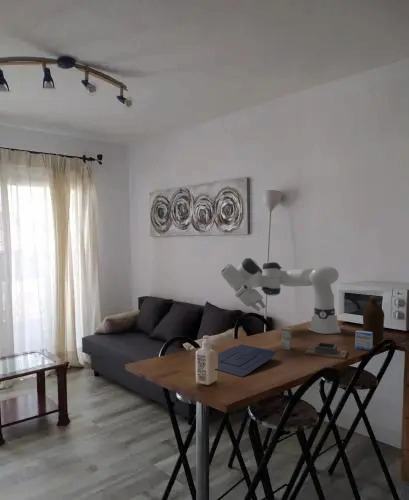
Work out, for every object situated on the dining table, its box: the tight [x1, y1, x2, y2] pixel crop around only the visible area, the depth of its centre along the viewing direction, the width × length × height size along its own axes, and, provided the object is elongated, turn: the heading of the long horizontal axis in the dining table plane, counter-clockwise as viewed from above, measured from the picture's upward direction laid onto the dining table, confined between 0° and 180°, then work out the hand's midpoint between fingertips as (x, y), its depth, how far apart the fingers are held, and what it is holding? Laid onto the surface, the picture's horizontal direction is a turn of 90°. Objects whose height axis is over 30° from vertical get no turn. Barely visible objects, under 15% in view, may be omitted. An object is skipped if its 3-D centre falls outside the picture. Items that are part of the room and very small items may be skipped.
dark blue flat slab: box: [218, 343, 278, 378], centre depth 179 cm, size 24×30×4 cm
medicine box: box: [354, 330, 374, 351], centre depth 202 cm, size 8×4×9 cm, turn 62°
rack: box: [304, 342, 348, 360], centre depth 193 cm, size 12×18×4 cm, turn 65°
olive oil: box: [362, 295, 385, 346], centre depth 213 cm, size 11×11×25 cm
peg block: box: [280, 327, 292, 351], centre depth 203 cm, size 4×4×10 cm
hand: (262, 309), depth 208 cm, fingers open, 8 cm apart
